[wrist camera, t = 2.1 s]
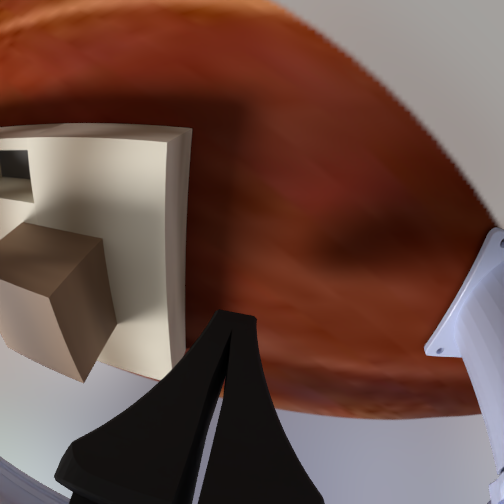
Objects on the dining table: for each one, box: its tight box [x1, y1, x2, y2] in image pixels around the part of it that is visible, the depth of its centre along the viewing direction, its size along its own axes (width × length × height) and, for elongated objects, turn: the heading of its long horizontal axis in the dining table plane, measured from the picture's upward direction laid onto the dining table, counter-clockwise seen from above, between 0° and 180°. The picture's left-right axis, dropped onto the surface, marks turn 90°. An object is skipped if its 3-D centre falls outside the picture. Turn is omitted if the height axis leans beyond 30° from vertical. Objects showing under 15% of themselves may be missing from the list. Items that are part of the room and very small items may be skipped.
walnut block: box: [0, 222, 117, 383], centre depth 10 cm, size 4×4×4 cm
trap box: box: [0, 123, 192, 380], centre depth 12 cm, size 18×12×4 cm, turn 83°
